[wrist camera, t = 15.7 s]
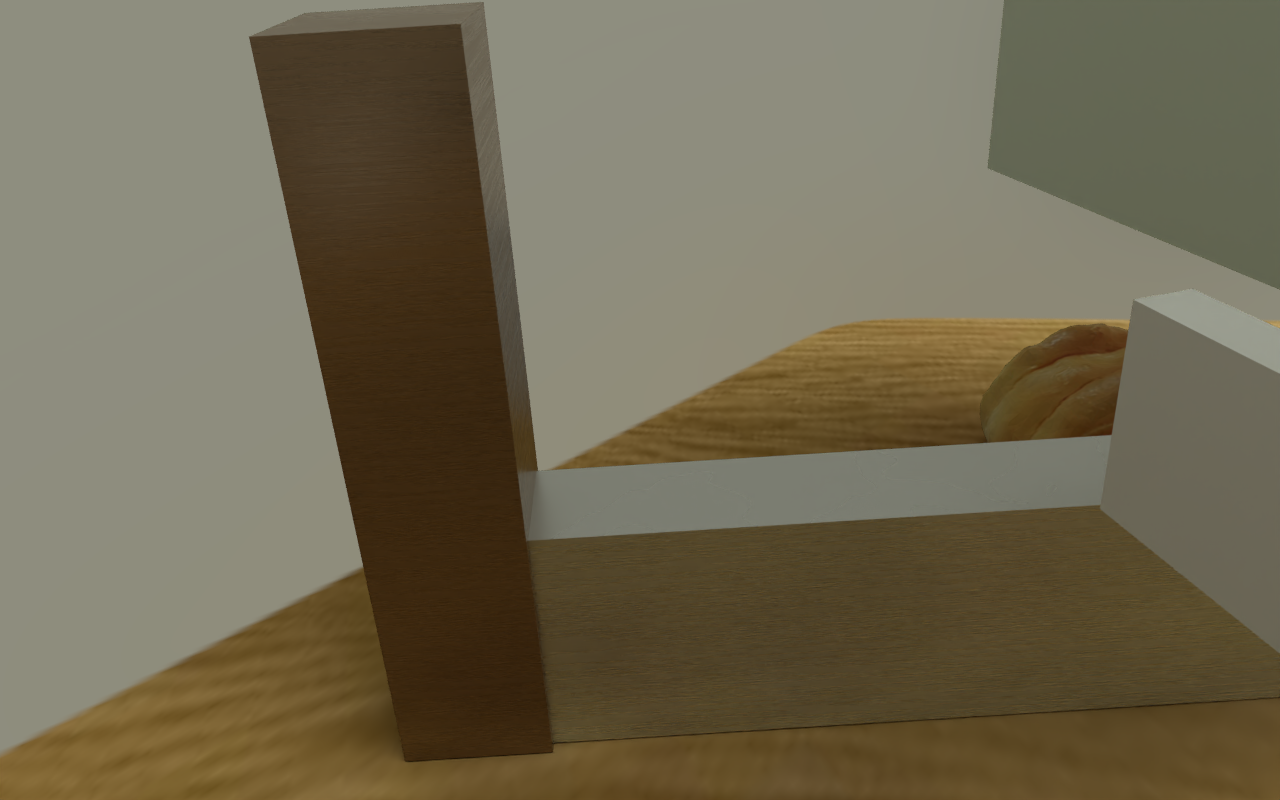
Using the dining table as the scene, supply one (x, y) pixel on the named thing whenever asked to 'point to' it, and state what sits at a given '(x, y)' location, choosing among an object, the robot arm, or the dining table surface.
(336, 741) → the dining table surface
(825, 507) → the l-shaped try square
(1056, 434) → the pastry
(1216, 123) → the green cabinet
